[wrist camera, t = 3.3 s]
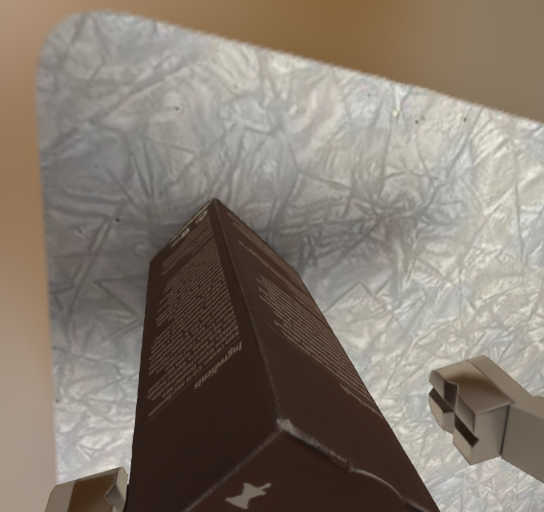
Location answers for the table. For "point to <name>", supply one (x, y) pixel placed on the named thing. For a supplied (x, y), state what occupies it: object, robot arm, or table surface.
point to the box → (253, 390)
